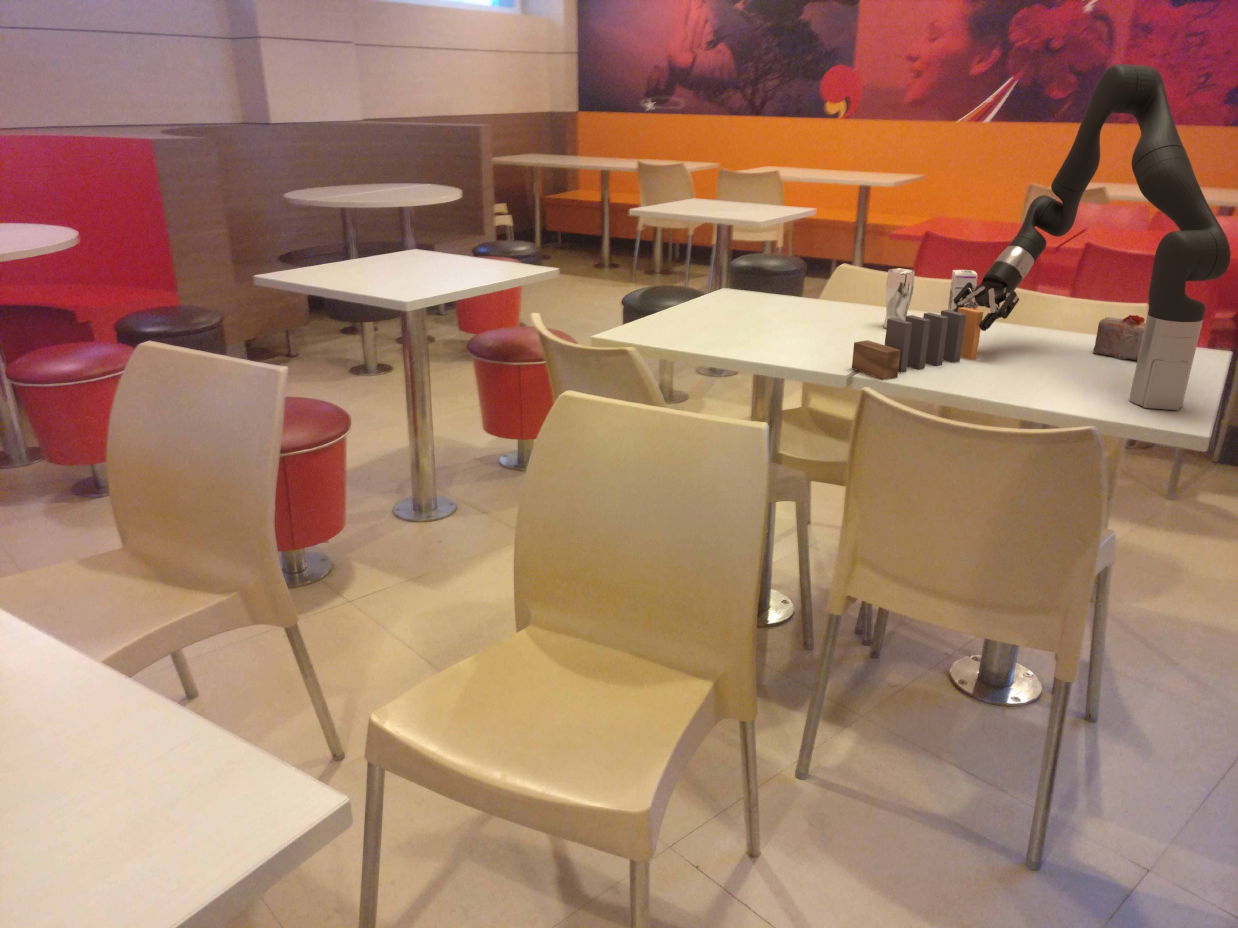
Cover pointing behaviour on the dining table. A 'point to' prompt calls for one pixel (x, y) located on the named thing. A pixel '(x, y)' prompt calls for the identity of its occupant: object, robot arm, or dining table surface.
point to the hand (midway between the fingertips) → (966, 325)
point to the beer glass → (898, 293)
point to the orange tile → (971, 332)
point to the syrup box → (960, 285)
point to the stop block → (876, 359)
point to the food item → (1120, 337)
